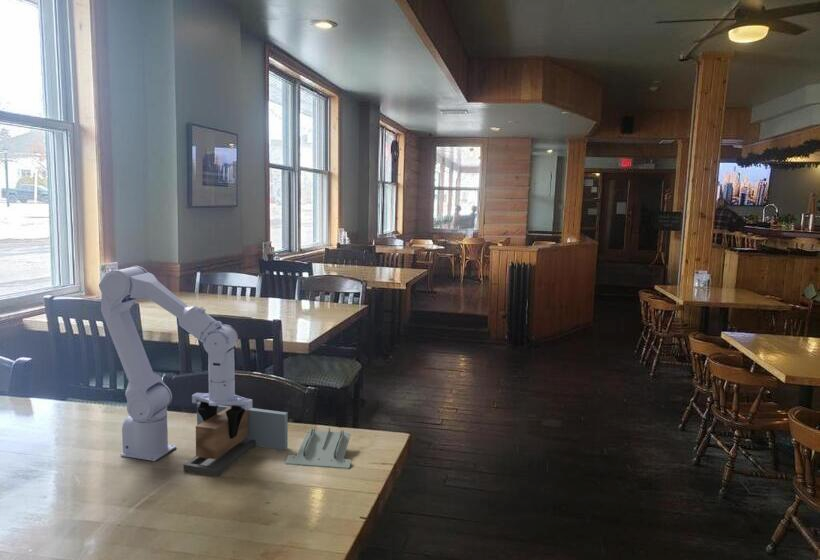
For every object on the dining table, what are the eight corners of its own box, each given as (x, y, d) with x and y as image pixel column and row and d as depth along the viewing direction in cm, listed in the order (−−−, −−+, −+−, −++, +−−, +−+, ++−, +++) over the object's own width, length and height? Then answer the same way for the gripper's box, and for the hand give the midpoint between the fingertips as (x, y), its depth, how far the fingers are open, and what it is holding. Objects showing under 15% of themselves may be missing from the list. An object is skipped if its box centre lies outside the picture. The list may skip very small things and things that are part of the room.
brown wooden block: (195, 456, 128) (195, 426, 127) (229, 433, 142) (230, 406, 141) (215, 459, 127) (215, 428, 126) (248, 436, 140) (248, 408, 140)
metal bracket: (300, 421, 143) (359, 425, 142) (301, 440, 146) (360, 444, 144) (282, 461, 130) (347, 466, 129) (284, 481, 133) (348, 486, 131)
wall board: (153, 466, 129) (152, 427, 128) (201, 435, 146) (200, 401, 145) (249, 481, 123) (249, 441, 122) (287, 447, 141) (287, 412, 139)
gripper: (183, 380, 130) (184, 437, 132) (240, 387, 126) (241, 446, 128) (201, 372, 137) (202, 426, 138) (256, 378, 133) (257, 434, 135)
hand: (222, 435), depth 134 cm, fingers closed on brown wooden block, 5 cm apart
